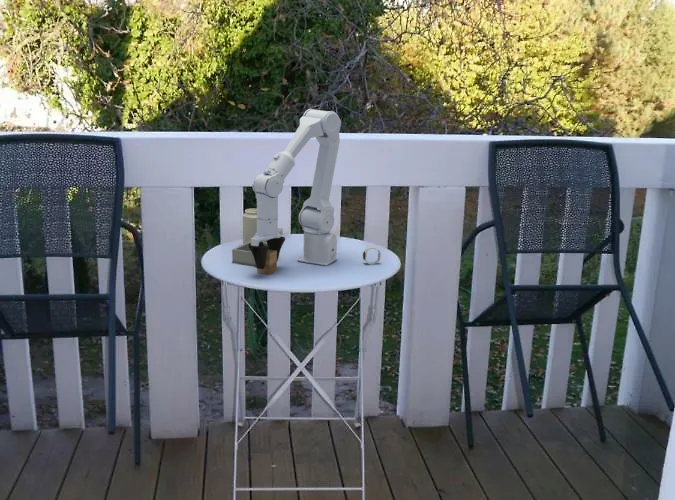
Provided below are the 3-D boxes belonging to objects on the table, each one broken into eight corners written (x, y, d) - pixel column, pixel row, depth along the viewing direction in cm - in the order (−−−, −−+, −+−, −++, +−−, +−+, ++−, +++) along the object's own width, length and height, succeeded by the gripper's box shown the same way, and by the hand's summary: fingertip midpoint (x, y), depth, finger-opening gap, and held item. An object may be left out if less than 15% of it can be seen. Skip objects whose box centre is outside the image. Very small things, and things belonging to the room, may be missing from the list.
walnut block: (276, 271, 205) (276, 250, 204) (269, 274, 202) (270, 254, 200) (264, 269, 207) (264, 248, 205) (257, 272, 203) (257, 252, 202)
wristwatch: (362, 262, 216) (362, 246, 215) (378, 262, 217) (378, 246, 216) (364, 265, 213) (365, 249, 212) (381, 264, 214) (381, 248, 213)
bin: (278, 257, 218) (278, 244, 217) (260, 267, 208) (260, 253, 207) (251, 253, 222) (251, 240, 221) (232, 262, 212) (232, 249, 211)
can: (263, 251, 225) (263, 213, 222) (239, 249, 226) (239, 211, 223) (269, 245, 232) (269, 208, 229) (246, 243, 233) (246, 206, 230)
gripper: (267, 224, 192) (267, 273, 196) (292, 214, 205) (291, 260, 209) (244, 221, 195) (244, 270, 199) (270, 211, 208) (270, 257, 211)
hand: (267, 265), depth 204 cm, fingers open, 7 cm apart
